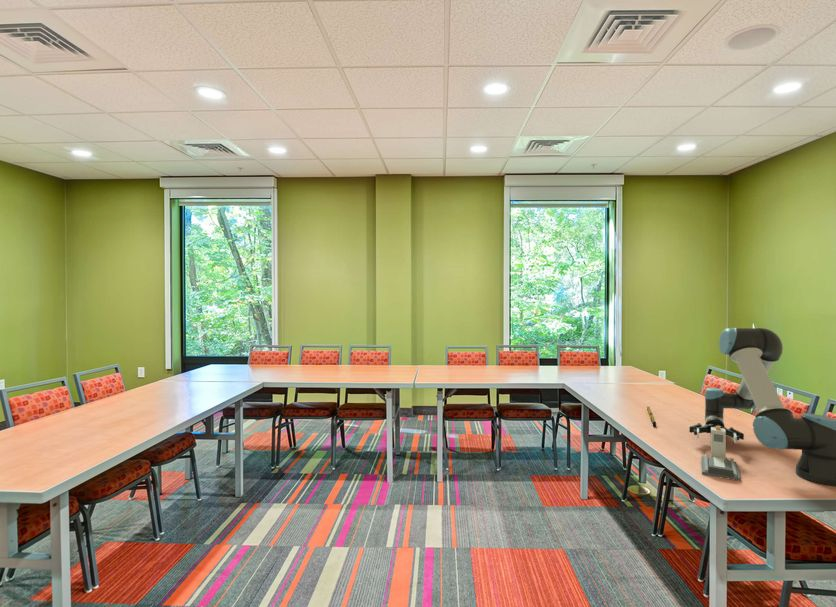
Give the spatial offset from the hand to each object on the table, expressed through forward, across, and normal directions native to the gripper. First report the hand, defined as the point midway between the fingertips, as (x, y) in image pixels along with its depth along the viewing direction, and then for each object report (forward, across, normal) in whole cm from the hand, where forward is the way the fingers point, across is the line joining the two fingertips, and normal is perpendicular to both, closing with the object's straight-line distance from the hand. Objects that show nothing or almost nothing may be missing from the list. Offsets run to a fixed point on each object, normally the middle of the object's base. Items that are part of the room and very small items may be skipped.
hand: (716, 437), depth 190 cm
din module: (+5, 0, -7) cm, 9 cm away
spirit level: (-46, +29, -7) cm, 55 cm away
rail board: (+20, 0, -7) cm, 21 cm away
